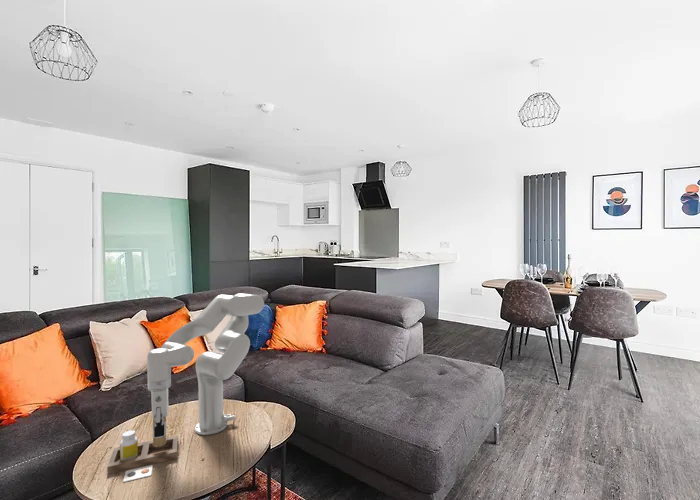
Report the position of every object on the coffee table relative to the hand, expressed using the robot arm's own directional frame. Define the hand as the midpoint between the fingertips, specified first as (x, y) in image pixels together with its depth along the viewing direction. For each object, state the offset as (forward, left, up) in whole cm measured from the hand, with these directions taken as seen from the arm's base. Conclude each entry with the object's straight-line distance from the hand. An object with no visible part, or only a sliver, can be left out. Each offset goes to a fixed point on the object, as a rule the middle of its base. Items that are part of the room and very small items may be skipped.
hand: (159, 432), depth 132 cm
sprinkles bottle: (0, 0, -5) cm, 5 cm away
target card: (+6, +10, -8) cm, 14 cm away
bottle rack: (+5, 0, -8) cm, 9 cm away
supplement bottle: (+10, 0, -8) cm, 13 cm away
